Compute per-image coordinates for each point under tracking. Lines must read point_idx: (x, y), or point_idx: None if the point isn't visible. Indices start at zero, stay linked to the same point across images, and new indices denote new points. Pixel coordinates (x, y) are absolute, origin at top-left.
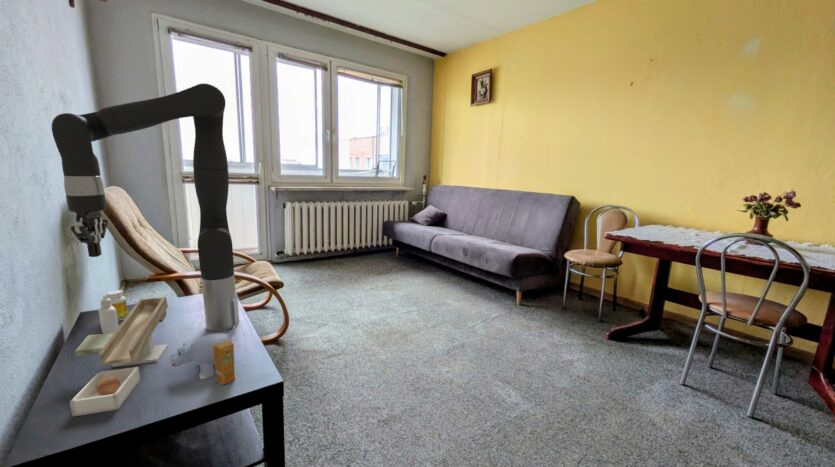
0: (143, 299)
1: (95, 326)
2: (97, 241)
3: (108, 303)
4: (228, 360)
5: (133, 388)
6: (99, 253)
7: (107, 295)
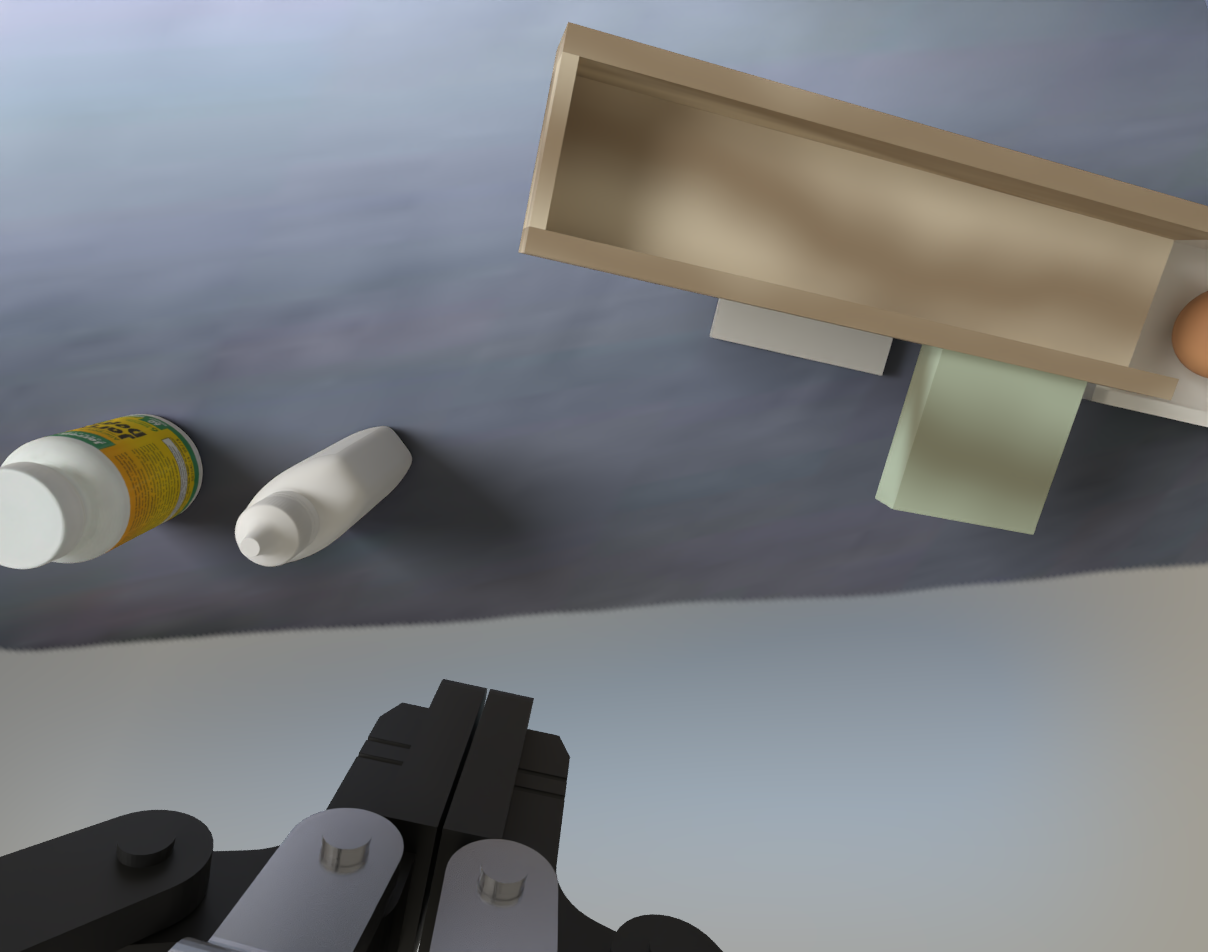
0: (546, 220)
1: (236, 565)
2: (506, 859)
3: (299, 509)
4: None
5: None
6: (503, 705)
7: (57, 556)
